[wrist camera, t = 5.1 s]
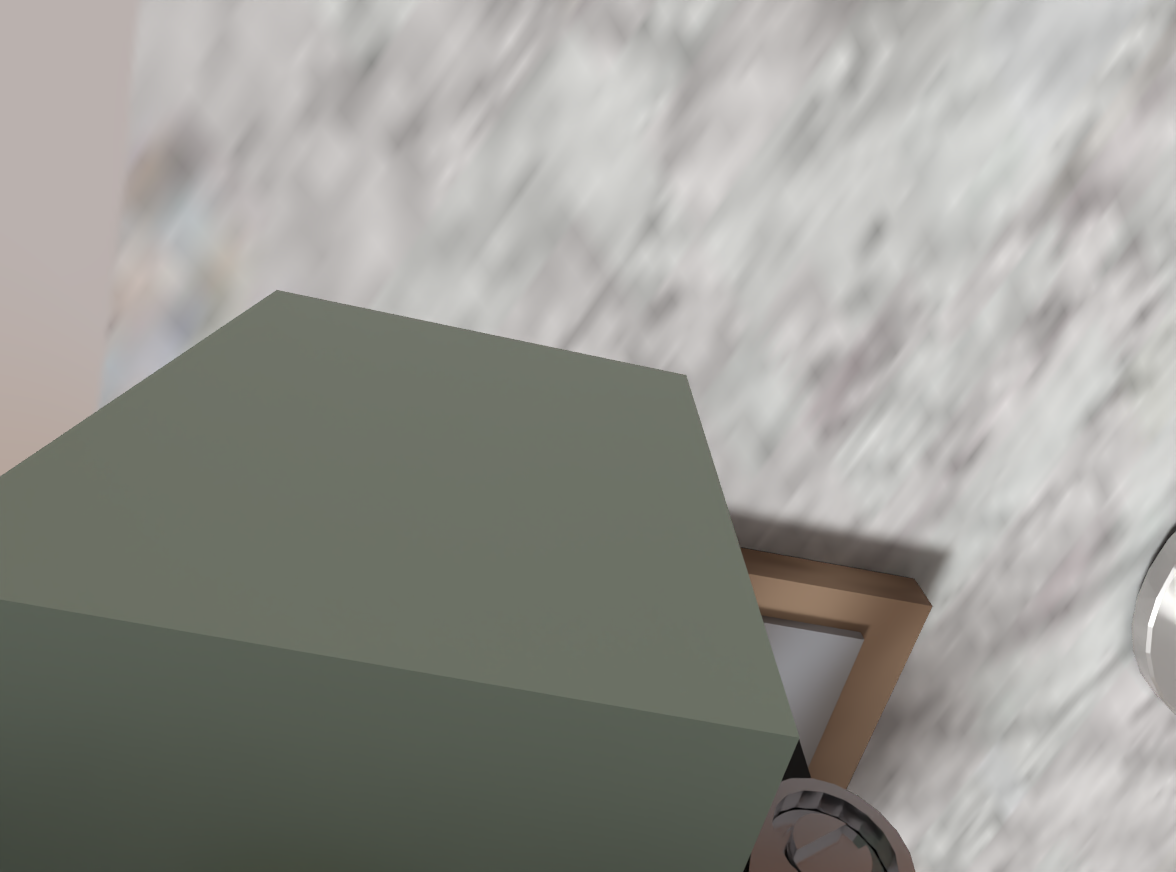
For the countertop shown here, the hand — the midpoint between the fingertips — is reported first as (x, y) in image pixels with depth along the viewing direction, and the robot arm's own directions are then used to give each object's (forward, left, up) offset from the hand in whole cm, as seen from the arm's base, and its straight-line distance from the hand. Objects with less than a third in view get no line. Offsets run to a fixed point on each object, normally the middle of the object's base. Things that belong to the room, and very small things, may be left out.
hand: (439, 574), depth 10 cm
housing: (0, 0, -1) cm, 1 cm away
